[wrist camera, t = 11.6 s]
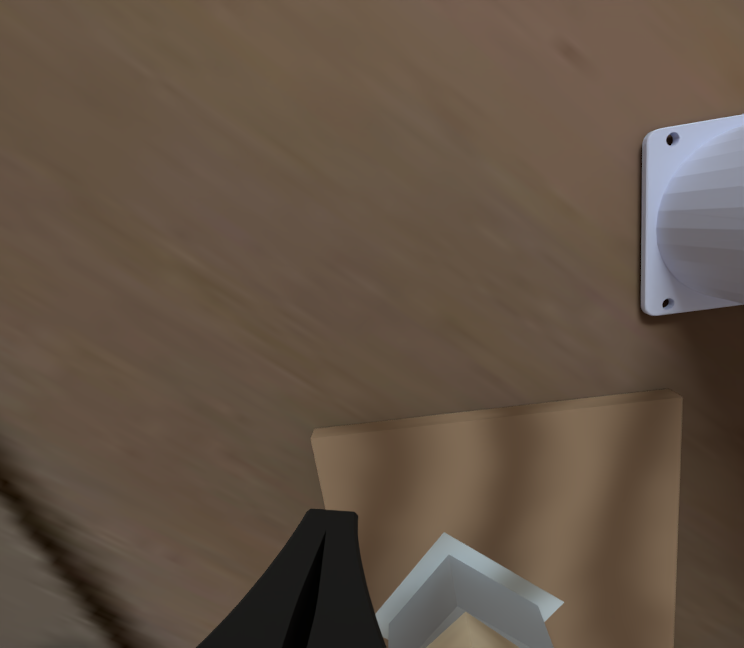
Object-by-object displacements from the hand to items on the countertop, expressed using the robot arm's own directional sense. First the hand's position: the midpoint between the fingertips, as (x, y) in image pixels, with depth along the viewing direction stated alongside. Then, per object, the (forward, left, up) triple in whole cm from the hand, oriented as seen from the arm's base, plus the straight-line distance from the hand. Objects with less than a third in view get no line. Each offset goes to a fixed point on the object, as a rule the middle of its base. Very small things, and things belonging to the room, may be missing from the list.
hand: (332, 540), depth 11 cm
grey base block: (-4, +14, -9) cm, 17 cm away
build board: (-6, +11, -10) cm, 16 cm away
